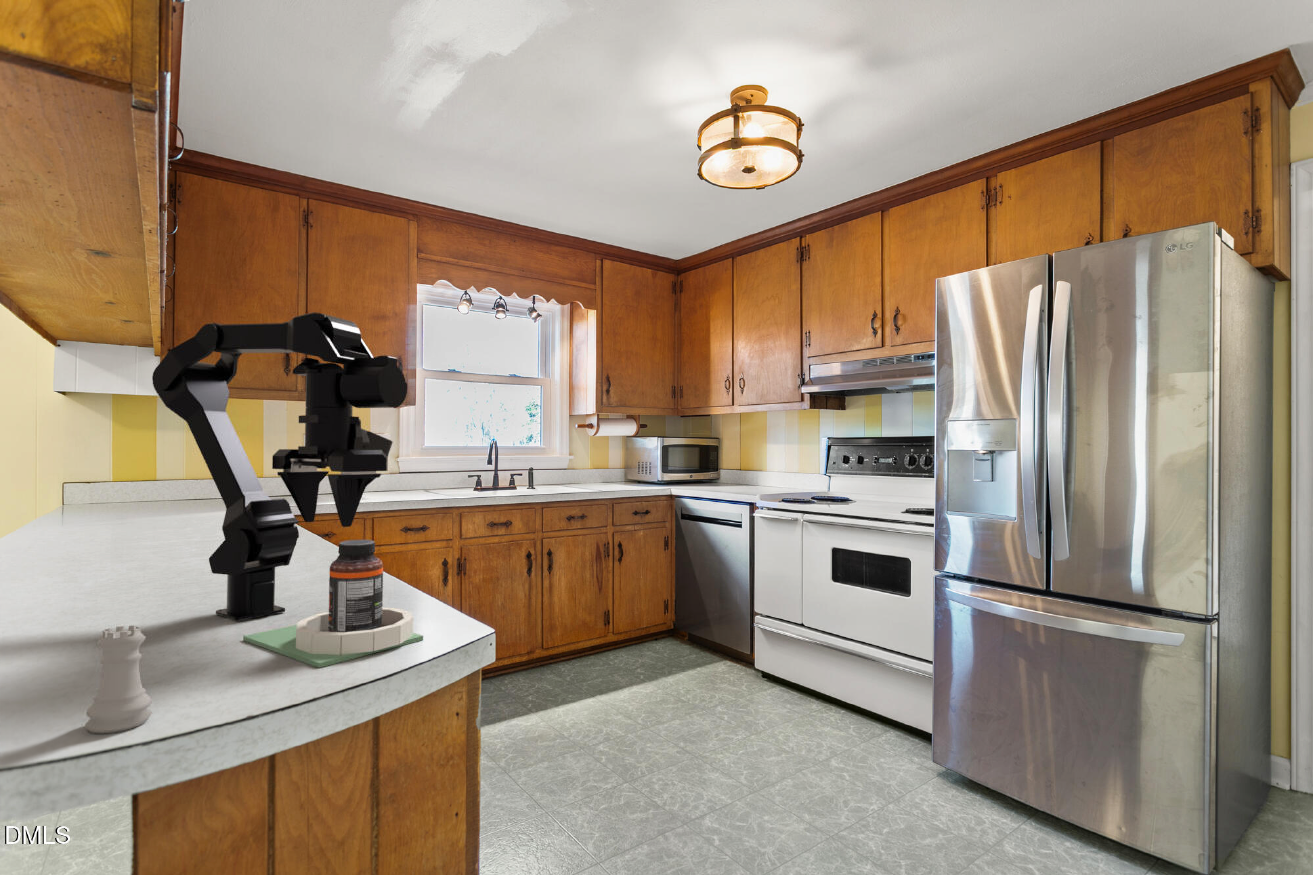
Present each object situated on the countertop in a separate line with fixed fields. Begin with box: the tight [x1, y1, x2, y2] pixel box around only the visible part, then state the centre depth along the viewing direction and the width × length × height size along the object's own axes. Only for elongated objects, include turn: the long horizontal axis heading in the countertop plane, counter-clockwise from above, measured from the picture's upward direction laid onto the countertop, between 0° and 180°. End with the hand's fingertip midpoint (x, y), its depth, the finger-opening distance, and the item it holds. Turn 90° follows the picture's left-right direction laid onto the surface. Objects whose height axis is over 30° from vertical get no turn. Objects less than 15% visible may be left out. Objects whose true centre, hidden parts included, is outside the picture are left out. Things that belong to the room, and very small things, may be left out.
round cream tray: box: [296, 607, 414, 655], centre depth 80 cm, size 13×13×2 cm
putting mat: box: [242, 624, 424, 669], centre depth 81 cm, size 17×13×1 cm
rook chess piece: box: [84, 624, 153, 735], centre depth 56 cm, size 4×4×8 cm
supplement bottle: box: [328, 539, 384, 632], centre depth 81 cm, size 6×6×11 cm
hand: (327, 524), depth 90 cm, fingers open, 9 cm apart
